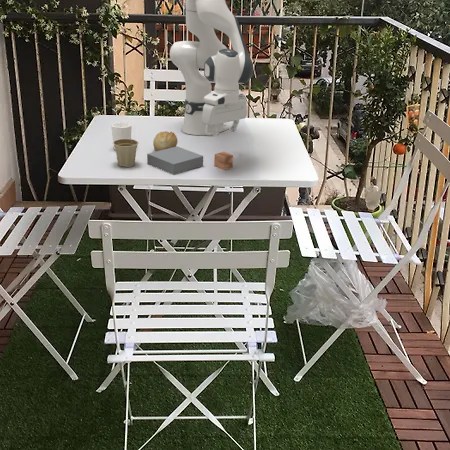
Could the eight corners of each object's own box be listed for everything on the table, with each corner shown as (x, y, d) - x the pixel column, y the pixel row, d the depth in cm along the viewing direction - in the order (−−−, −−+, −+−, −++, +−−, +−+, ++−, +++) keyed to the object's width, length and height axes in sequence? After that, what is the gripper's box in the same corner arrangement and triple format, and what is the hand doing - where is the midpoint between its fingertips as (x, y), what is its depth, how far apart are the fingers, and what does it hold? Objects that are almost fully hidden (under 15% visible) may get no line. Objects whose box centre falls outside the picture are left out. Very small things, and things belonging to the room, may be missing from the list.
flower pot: (127, 170, 216) (127, 147, 212) (108, 165, 220) (107, 142, 217) (144, 163, 223) (143, 141, 220) (125, 158, 228) (124, 137, 224)
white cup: (128, 152, 234) (127, 128, 230) (109, 150, 235) (108, 126, 231) (134, 147, 241) (134, 123, 237) (116, 145, 242) (115, 121, 238)
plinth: (176, 155, 233) (177, 146, 231) (203, 165, 224) (203, 155, 222) (147, 163, 223) (147, 153, 222) (173, 174, 214) (173, 164, 212)
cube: (223, 163, 227) (223, 151, 225) (232, 167, 224) (233, 154, 222) (214, 166, 224) (214, 154, 222) (223, 170, 221) (224, 157, 219)
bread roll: (177, 146, 245) (178, 127, 242) (176, 157, 232) (177, 138, 228) (154, 145, 245) (154, 126, 241) (152, 156, 231) (152, 137, 228)
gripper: (239, 91, 221) (237, 127, 227) (200, 98, 208) (199, 135, 213) (252, 94, 217) (249, 130, 223) (212, 101, 204) (211, 139, 209)
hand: (224, 133), depth 218 cm, fingers open, 8 cm apart
